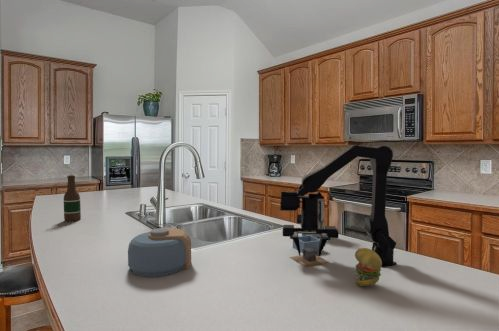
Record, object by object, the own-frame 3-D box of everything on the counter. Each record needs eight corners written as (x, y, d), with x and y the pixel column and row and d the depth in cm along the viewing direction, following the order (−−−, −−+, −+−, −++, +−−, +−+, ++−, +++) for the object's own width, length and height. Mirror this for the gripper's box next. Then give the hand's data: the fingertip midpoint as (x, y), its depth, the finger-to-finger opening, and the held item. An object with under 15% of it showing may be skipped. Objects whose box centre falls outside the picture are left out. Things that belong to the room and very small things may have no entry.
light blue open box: (321, 250, 121) (321, 240, 121) (303, 253, 118) (304, 242, 118) (309, 244, 129) (309, 235, 129) (292, 247, 126) (292, 237, 125)
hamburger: (359, 278, 96) (360, 239, 95) (384, 285, 92) (386, 243, 91) (349, 287, 90) (350, 245, 89) (376, 294, 86) (377, 250, 85)
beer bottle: (64, 219, 173) (63, 175, 171) (81, 218, 176) (79, 174, 174) (63, 222, 165) (61, 176, 164) (80, 221, 169) (79, 175, 167)
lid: (329, 264, 109) (330, 252, 109) (304, 269, 105) (305, 256, 105) (313, 255, 118) (313, 244, 118) (289, 259, 114) (289, 247, 114)
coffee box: (325, 234, 144) (325, 199, 143) (321, 238, 138) (322, 201, 137) (305, 232, 148) (305, 197, 147) (301, 235, 142) (301, 199, 141)
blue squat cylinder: (201, 266, 106) (201, 230, 105) (142, 283, 92) (141, 242, 92) (173, 252, 120) (173, 220, 119) (119, 265, 107) (118, 229, 106)
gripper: (334, 207, 117) (333, 249, 118) (283, 206, 120) (282, 247, 120) (339, 213, 106) (338, 259, 107) (282, 212, 108) (282, 257, 109)
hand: (309, 255), depth 111 cm, fingers open, 6 cm apart
